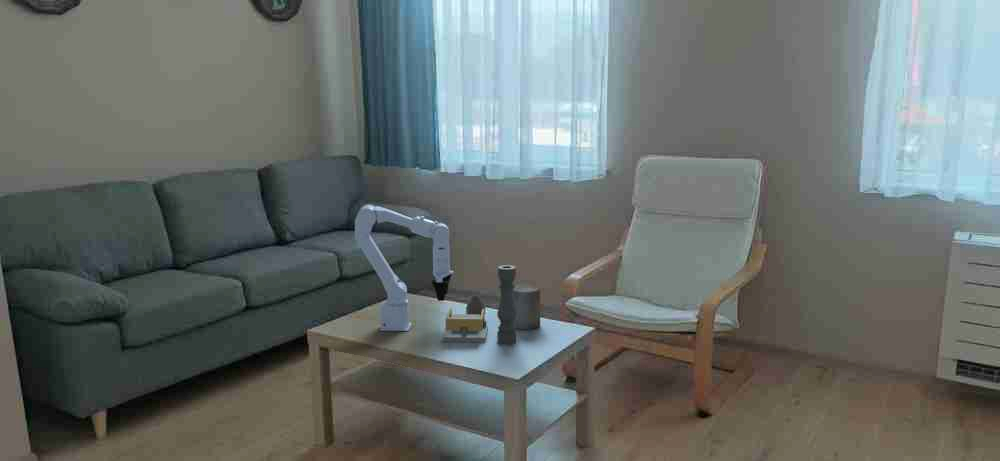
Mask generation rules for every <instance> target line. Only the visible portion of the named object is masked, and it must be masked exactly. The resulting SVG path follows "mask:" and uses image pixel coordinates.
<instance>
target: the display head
mask: <svg viewBox="0 0 1000 461" xmlns="http://www.w3.org/2000/svg"><path fill="white" fill-rule="evenodd" d="M452 317H458V318H480V315H475V314H466V313H465V314H464V313H462V314H461V313H459V314H455V313H454V314H453V313H452ZM488 327H489V326H488V324H487V319H485V320H484V321H483V330H482V331H468V327H461V330H460V331H446V328H445V329H444V332H443V335H442V342H444V343H445V342H447V343H449V342H450V343H453V342H454V343H486V341H487V334H488V330H489V328H488Z"/></svg>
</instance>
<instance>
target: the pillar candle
mask: <svg viewBox="0 0 1000 461" xmlns="http://www.w3.org/2000/svg"><path fill="white" fill-rule="evenodd" d="M540 287H541V286H538V285H535V284H527V283H526V284H525V283H523V284H517V285H515V288H514V289H513V301H514V306H515V310H516V317H515V319H514V322H513V324H514V326H515V327H516V328H515V329H517V330H523V331H527V330H528V331H530V330H534V329H535V330H536V329H538V328H540V327H541V288H540Z"/></svg>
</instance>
